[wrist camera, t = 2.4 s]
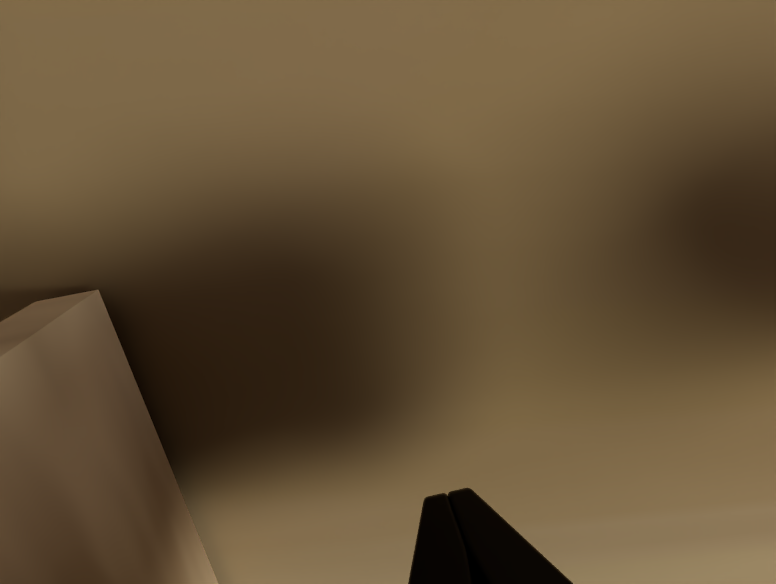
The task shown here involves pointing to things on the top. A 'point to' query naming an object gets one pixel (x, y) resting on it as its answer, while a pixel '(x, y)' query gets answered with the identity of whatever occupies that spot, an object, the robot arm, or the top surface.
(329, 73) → the top surface
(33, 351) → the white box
